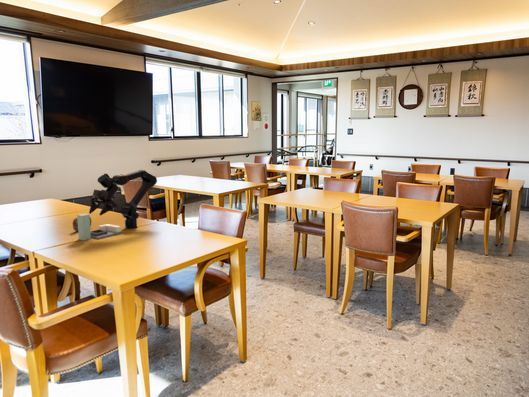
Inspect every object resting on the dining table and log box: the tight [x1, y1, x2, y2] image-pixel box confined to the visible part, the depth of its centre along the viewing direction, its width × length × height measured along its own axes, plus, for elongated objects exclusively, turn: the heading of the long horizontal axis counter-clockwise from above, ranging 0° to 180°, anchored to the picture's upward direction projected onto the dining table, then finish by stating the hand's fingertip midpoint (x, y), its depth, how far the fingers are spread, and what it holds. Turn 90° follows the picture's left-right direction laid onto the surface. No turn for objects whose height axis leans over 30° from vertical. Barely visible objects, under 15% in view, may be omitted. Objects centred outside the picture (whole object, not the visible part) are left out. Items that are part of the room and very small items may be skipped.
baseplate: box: [90, 223, 125, 240], centre depth 235 cm, size 18×14×4 cm
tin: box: [72, 217, 92, 232], centre depth 245 cm, size 15×3×8 cm, turn 168°
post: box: [76, 213, 92, 241], centre depth 224 cm, size 4×4×14 cm
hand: (94, 214), depth 229 cm, fingers open, 9 cm apart
